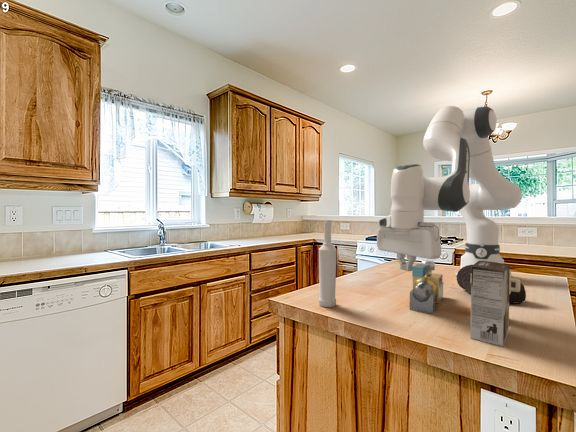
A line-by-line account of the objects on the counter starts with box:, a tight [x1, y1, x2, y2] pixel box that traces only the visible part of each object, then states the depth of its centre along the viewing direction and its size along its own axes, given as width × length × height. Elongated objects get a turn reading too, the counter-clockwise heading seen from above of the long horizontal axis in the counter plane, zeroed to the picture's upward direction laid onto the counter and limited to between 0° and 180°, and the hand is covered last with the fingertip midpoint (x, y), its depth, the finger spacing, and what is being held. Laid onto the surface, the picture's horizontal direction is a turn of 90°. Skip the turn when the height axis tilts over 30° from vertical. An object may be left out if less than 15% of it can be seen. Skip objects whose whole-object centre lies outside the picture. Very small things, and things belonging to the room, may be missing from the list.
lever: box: [411, 259, 436, 278], centre depth 88 cm, size 14×4×3 cm, turn 143°
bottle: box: [318, 219, 338, 308], centre depth 90 cm, size 5×5×25 cm
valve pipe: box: [409, 270, 444, 315], centre depth 92 cm, size 20×7×10 cm, turn 146°
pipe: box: [456, 265, 527, 304], centre depth 98 cm, size 10×15×15 cm
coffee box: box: [469, 261, 511, 347], centre depth 68 cm, size 9×6×16 cm
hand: (406, 270), depth 87 cm, fingers closed
